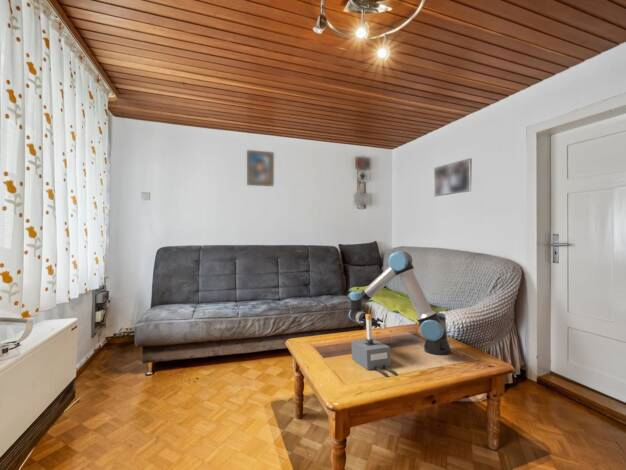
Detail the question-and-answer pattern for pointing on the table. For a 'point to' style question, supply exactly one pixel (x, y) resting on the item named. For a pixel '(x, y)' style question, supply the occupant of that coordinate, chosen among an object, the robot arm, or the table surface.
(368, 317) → the breaker lever
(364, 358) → the grey power plug
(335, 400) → the table surface
